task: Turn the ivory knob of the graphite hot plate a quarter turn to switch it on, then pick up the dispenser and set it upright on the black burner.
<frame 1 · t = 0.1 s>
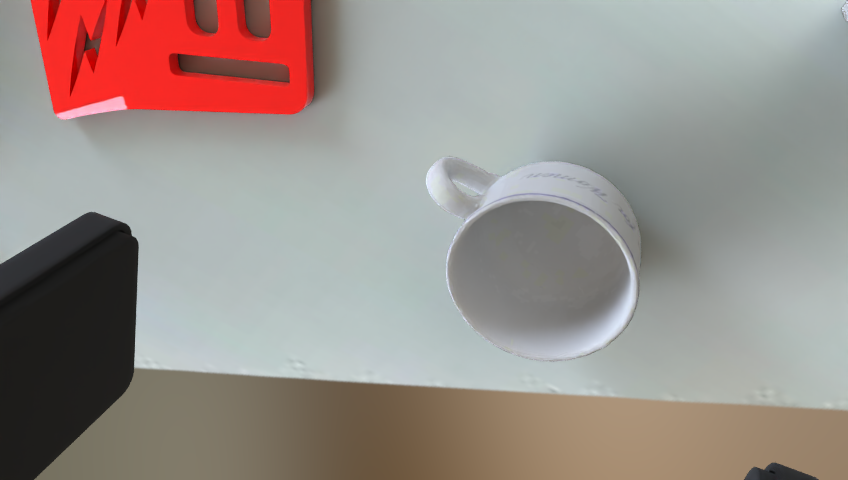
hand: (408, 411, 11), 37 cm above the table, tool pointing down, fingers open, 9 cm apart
teacup: (543, 205, 49), on the table
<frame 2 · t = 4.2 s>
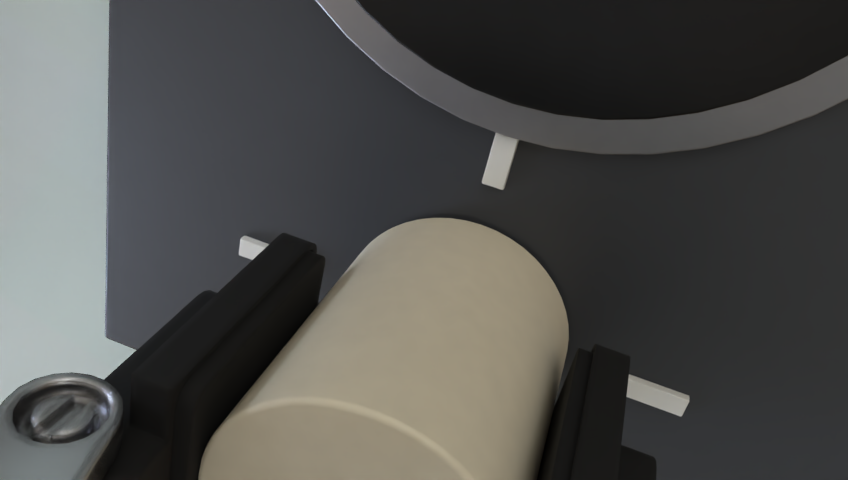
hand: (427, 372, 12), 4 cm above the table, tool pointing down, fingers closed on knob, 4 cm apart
knob: (406, 415, 11), point 5 cm above the table, hinge at 0.1°, touching gripper
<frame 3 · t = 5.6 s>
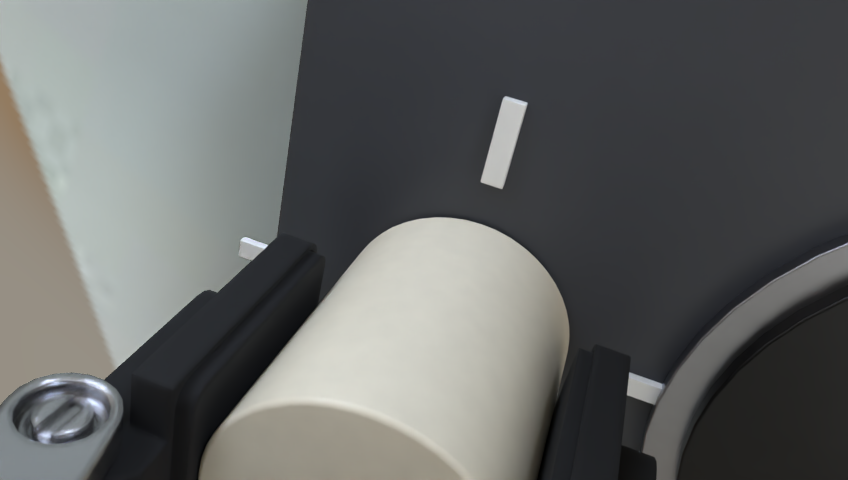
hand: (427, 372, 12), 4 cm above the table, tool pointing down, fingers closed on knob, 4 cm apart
hob: (759, 348, 15), on the table
knob: (406, 415, 11), point 5 cm above the table, hinge at 89.6°, touching gripper
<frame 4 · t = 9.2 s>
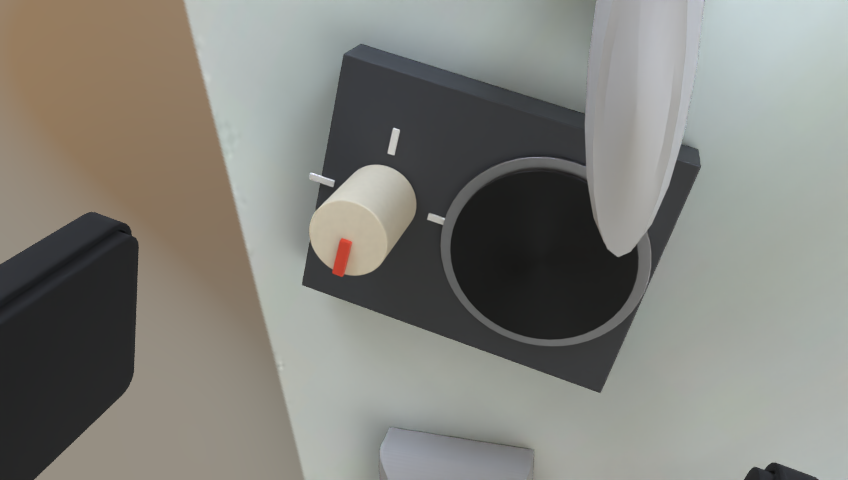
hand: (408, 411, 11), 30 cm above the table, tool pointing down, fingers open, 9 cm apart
hob: (488, 213, 43), on the table
burner: (542, 257, 40), on the hob, point 2 cm above the table
knob: (364, 219, 39), point 5 cm above the table, hinge at 88.4°
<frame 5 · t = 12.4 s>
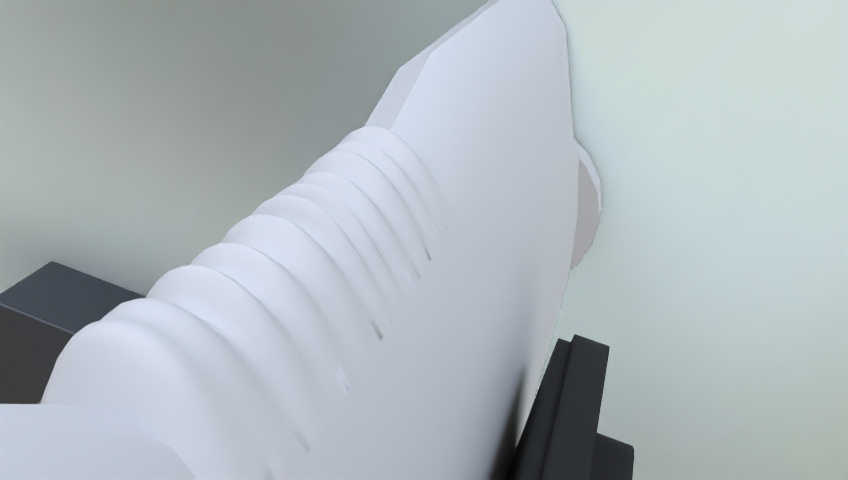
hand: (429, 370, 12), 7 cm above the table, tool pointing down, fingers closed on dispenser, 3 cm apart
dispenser: (516, 192, 19), on the table, touching gripper
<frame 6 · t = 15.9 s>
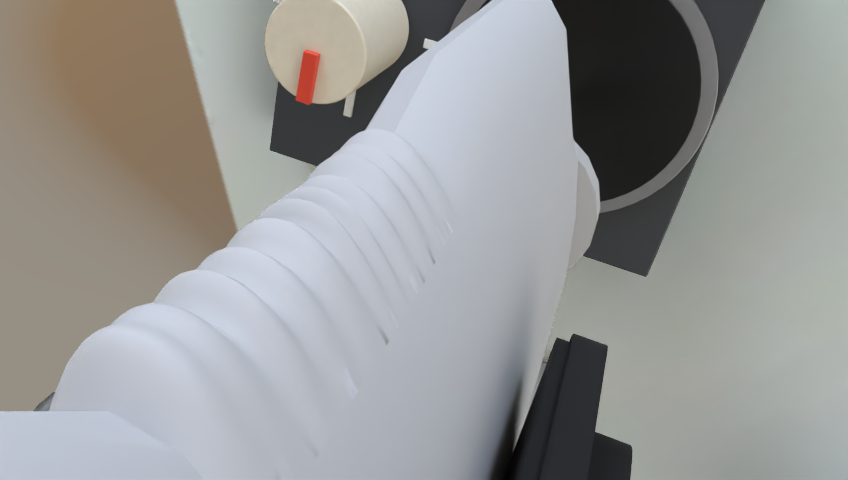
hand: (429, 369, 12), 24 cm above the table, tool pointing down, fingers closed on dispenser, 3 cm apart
hob: (502, 48, 33), on the table
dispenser: (514, 193, 19), point 16 cm above the table, touching gripper
burner: (572, 89, 30), on the hob, point 2 cm above the table
knob: (339, 37, 30), point 5 cm above the table, hinge at 88.4°
when the fingers open (10 cm above the table, at t = 19.7 s): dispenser stays where it is, resting on burner.
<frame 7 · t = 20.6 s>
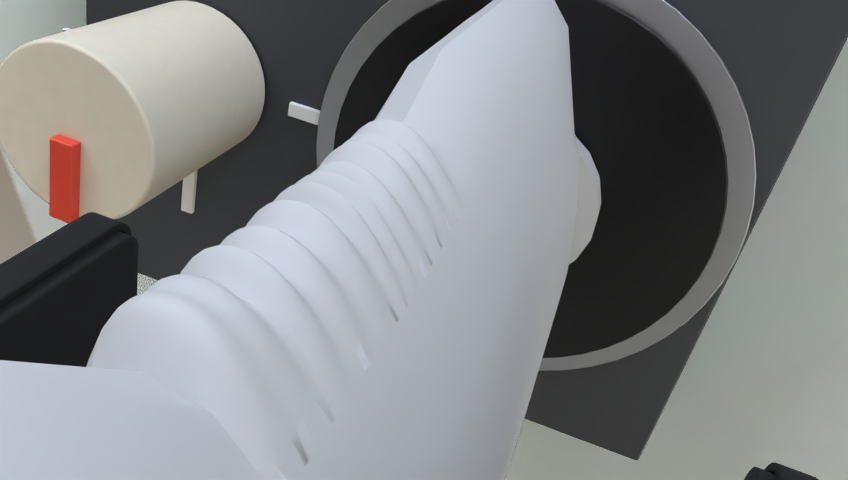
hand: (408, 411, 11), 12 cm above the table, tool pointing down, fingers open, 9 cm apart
hob: (418, 112, 22), on the table
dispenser: (516, 188, 19), point 3 cm above the table, touching burner
burner: (518, 187, 19), on the hob, point 2 cm above the table
knob: (137, 105, 18), point 5 cm above the table, hinge at 88.4°
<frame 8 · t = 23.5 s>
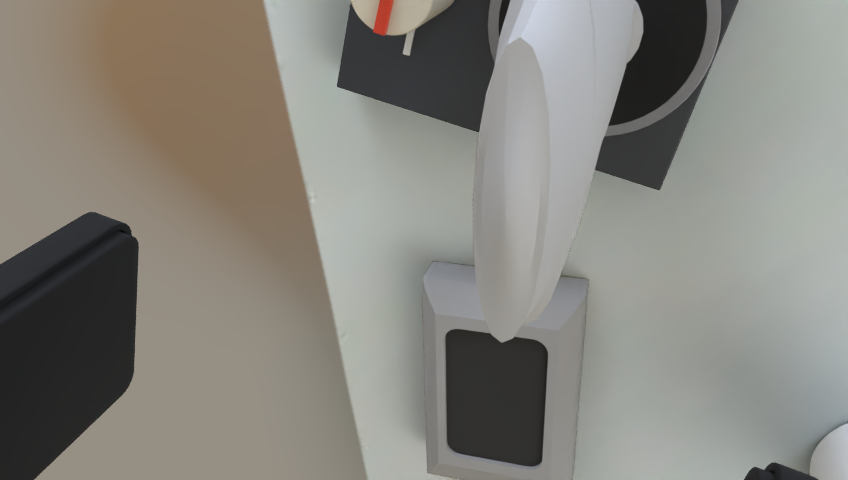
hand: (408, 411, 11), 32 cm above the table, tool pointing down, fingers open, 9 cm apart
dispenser: (598, 27, 36), point 3 cm above the table, touching burner
burner: (599, 27, 37), on the hob, point 3 cm above the table
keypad: (506, 370, 50), on the table
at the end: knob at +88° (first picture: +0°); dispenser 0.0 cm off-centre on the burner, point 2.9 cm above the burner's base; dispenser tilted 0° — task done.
